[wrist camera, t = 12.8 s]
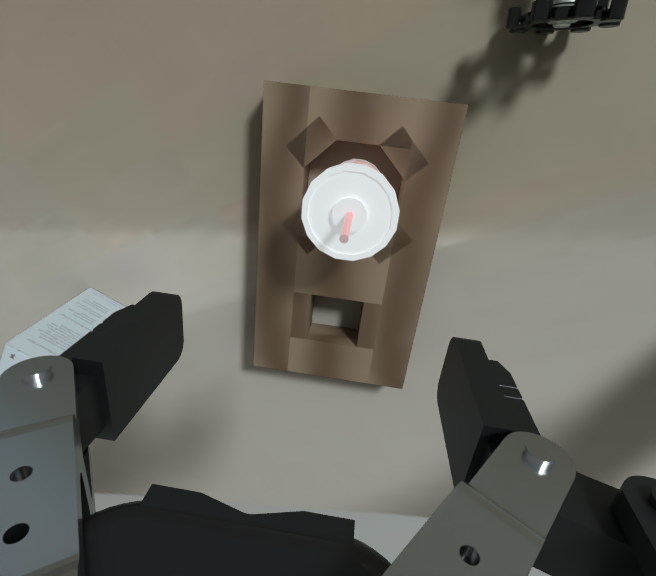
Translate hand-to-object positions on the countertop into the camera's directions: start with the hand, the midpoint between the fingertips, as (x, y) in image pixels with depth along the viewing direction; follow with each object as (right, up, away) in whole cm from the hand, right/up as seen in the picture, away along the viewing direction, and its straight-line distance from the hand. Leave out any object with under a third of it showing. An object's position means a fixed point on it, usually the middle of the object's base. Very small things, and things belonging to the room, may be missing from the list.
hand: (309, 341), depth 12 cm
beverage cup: (+3, +10, +21) cm, 24 cm away
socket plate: (+2, +5, +23) cm, 24 cm away
